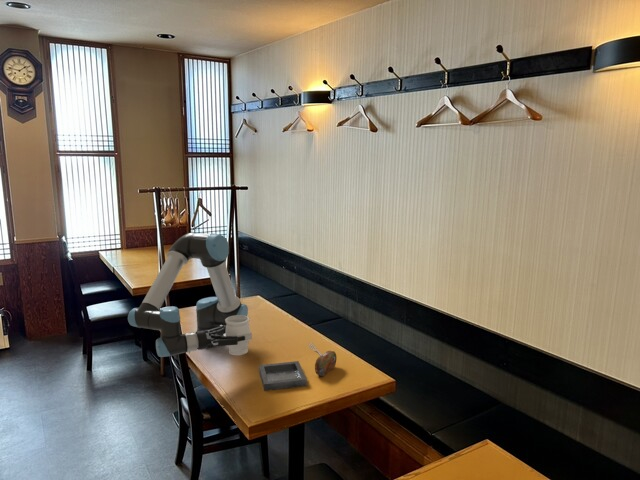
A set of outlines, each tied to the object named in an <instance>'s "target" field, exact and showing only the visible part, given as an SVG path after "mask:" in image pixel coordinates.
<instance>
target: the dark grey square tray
mask: <svg viewBox="0 0 640 480" xmlns="http://www.w3.org/2000/svg"><path fill="white" fill-rule="evenodd" d="M258 373H259V376H260V377H259V378H260V380H261V384H262V388H263V391H264V392H269V391H276V390H285V389H291V388H292V389H294V388H301V387H308V379H307V376H306V374H305V372H304V369H303V368H302V366H301V364H300V362H299V360H296V361H295V360H294V361H286V362H278V363H276V362H275V363H268V364H258Z"/></svg>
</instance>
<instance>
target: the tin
mask: <svg viewBox="0 0 640 480" xmlns="http://www.w3.org/2000/svg"><path fill="white" fill-rule="evenodd" d="M336 363H337V354H336V351H335V350H334V351H332V350H326V351H325V352H324V353H323V354H322V355H321V356H318V357H317V359H316V361H315V364H314V370H315V374H316V375H318V376H321V377H324V376H325V375H327V374H328V373H330V372H331V371H333V369H334V368H335V366H336Z"/></svg>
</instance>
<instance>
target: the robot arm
mask: <svg viewBox="0 0 640 480" xmlns="http://www.w3.org/2000/svg"><path fill="white" fill-rule="evenodd" d="M229 245H230V244H229V241H228V240H227V238H226V237H225V236H224V235H222V234H217V233H205V232H204V233H202V232H201V233H200V232H189V233H186V234H184V235H182V236H180V237H179V238H178V239H177V240H176V241H175V242H174V243H173V244H172V245H171V247H170V248H169V249H168V251H167V253H166V257H167V258H166V260H165V261H164V263H163V265H162V267H161V269H160V270H159V272H158V274H157V275H156V278H155V279H154V281H153V283H152V285H151V286H150V287H149V290H148V291H147V293H146V295H145V297H144V299H143V300H142V302H141V304H140V305H139V307H134V308H132V309H131V310H130V311H129V312H128V315H127V321H128V323H129V325H130V326H132V327H135V328H139V329H141V328H142V329H149V330H154V331H160V337H158V338H157V339H156V340H155V350H156V354H157V356H158V357H160V358H164V357H165V358H166V357H171V356H176V355H181V354H186V353H191V352H195V351H197V350H198V351H200V350H205V349H207V348H208V349H209V348H217V347H224V346H226V347H228V345H237V344H238V342H240V341H245V340H249V341H250V340H253V333H252V332H250V333H246V334H241V335H237V336H226V322H225V319H226V318H228V317H230V316H234V315H244V316H248V314H249V313H248V312H249V308H248V307H249V306H248V305H247V304H245V303H242V302H241V299H240V298H239V297H238V296H236V294H235V290H234V287H233V284H232V280H231V277H230V274H229V272H228V267H227V265H226V261H227V259H228V257H229V254H230V246H229ZM191 259H197V260H198V259H199V261H200V263H201V265H202V267H204V268H206V270H207V273H208V275H209V278H210V282H211V284H212V287H213V290H214V292H215V296H208V297H204V298H201V299H199V300H198V301H196V307H195V308H196V309H195V311H196V326H197V327H196V331H195V332H193V331H192V332H187V333H183V334H182V331H181V315H180V309H179V308H178V307H177V306H173V305H172V306H169V305H168V306H165V307H162V306H163V304H164V302H165V300H166V298H167V296H168V294H169V292H170V291H171V289H172V288H173V285H174V283H175V281H176V279H177V278H178V275H179V274H180V273H181V270H182V269H183V267H184V266H185V265H187V264H188V262H189V260H191ZM224 335H225V336H224Z"/></svg>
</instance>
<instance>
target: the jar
mask: <svg viewBox="0 0 640 480" xmlns="http://www.w3.org/2000/svg"><path fill="white" fill-rule="evenodd" d="M225 322H226V333H225V336H237V335H241V334H246V333H251V327H250V317H249V316H248V315H247V316H244V315H234V316H230V317H228V318H226V319H225ZM249 344H250V340H245V341H240V342H238V344H237V345H227V347H228V349H229V350H228V353H229V355H232V356H243V355H245V354H247V353H248V352H249V348H248V346H249Z"/></svg>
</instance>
